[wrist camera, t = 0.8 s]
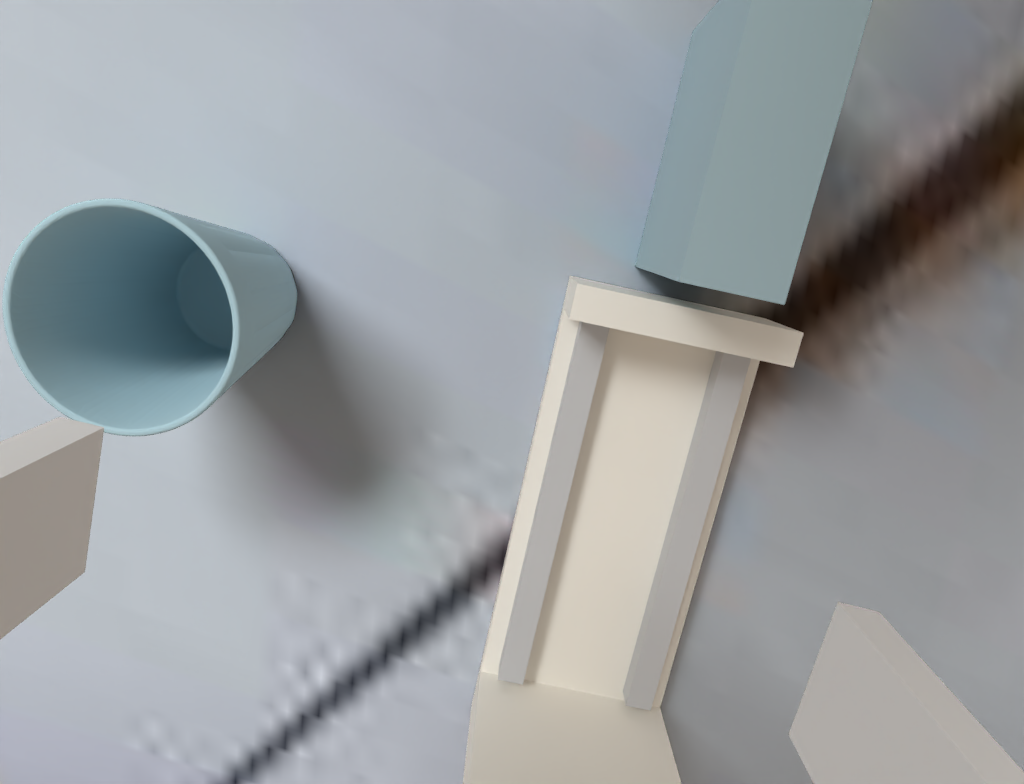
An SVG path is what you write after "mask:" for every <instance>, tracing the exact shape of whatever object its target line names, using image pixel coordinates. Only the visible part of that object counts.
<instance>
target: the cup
mask: <svg viewBox="0 0 1024 784" xmlns="http://www.w3.org/2000/svg"><path fill="white" fill-rule="evenodd" d="M296 304H297V289H296V285H295V282H294V278H293V275H292V272H291V270H290V268H289V266H288V264H287V263H286V262H285V261H284V259H283V258H282V257H281V256H280V255H279V253H278V252H277V251H276V250H275V249H274V248H273V247H272V246H270V245H269V244H267V243H266V242H263V241H261V240H259V239H257V238H255V237H253V236H251V235H248V234H246V233H242V232H239V231H236V230H232V229H229V228H226V227H222V226H219V225H215V224H212V223H208V222H205V221H201V220H198V219H195V218H191V217H188V216H184V215H181V214H177V213H174V212H171V211H168V210H164V209H161V208H158V207H154V206H151V205H147V204H144V203H140V202H136V201H131V200H124V199H96V200H89V201H84V202H80V203H76V204H73V205H70V206H67V207H65V208H63V209H61V210H59V211H57V212H55V213H53V214H52V215H50V216H49V217H47V218H46V219H44V220H43V221H42V222H40V223H39V224H38V225H37V226H36V227H35V228H34V229H33V230H32V231H31V232H30V233H29V234H28V235H27V236H26V238H25V239H24V240H23V242H22V243H21V244H20V246H19V247H18V249H17V251H16V253H15V255H14V256H13V259H12V261H11V264H10V266H9V269H8V272H7V275H6V279H5V284H4V291H3V319H4V325H5V331H6V335H7V338H8V342H9V345H10V348H11V351H12V353H13V355H14V357H15V359H16V361H17V363H18V365H19V367H20V369H21V370H22V372H23V373H24V375H25V377H26V378H27V380H28V381H29V382H30V384H31V385H32V386H33V387H34V389H35V390H36V391H37V392H38V393H39V394H40V395H41V396H42V397H43V398H44V399H45V400H46V401H47V402H48V403H49V404H50V405H52V406H53V407H54V408H56V409H57V410H58V411H60V412H61V413H62V414H64V415H65V416H67V417H69V418H70V419H72V420H76V421H80V422H84V423H88V424H92V425H97V426H101V427H104V432H105V433H109V434H114V435H122V436H147V435H154V434H159V433H163V432H167V431H170V430H173V429H176V428H178V427H180V426H182V425H184V424H186V423H188V422H190V421H192V420H193V419H195V418H196V417H198V416H199V415H200V414H202V413H203V412H204V411H205V410H207V409H208V408H209V407H210V406H211V405H212V404H213V403H214V402H215V401H216V400H217V399H218V398H219V397H220V396H221V395H223V394H224V393H225V392H226V391H227V390H228V389H229V388H230V387H231V386H232V385H233V384H234V383H235V382H236V381H237V380H238V379H239V378H240V377H241V376H242V375H244V374H245V373H246V372H247V371H248V370H249V369H250V368H251V367H252V366H253V365H254V364H255V363H256V362H257V361H259V360H260V359H261V358H262V357H263V356H264V355H265V354H266V353H267V352H268V351H269V350H270V349H271V348H272V347H273V346H274V345H275V344H276V343H277V342H278V341H279V340H280V339H281V338H282V337H283V335H284V334H285V332H286V330H287V329H288V328H289V327H290V325H291V324H292V322H293V319H294V316H295V310H296Z"/></svg>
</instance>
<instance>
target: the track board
mask: <svg viewBox="0 0 1024 784" xmlns="http://www.w3.org/2000/svg"><path fill="white" fill-rule="evenodd" d="M803 334H804V333H803V332H800V331H797V330H795V329H792V328H789V327H787V326H784V325H781V324H779V323H776V322H773V321H771V320H768V319H766V318H762V317H757V316H753V315H748V314H744V313H739V312H734V311H730V310H725V309H721V308H716V307H712V306H707V305H702V304H698V303H693V302H689V301H684V300H680V299H675V298H670V297H666V296H661V295H657V294H652V293H648V292H643V291H638V290H634V289H629V288H625V287H620V286H616V285H611V284H606V283H602V282H597V281H593V280H588V279H584V278H579V277H575V276H570V277H569V281H568V286H567V290H566V295H565V299H564V303H563V308H562V312H561V316H560V321H559V325H558V329H557V334H556V338H555V343H554V347H553V351H552V356H551V360H550V364H549V369H548V373H547V377H546V382H545V386H544V391H543V395H542V399H541V404H540V408H539V412H538V417H537V421H536V425H535V430H534V434H533V439H532V443H531V447H530V452H529V456H528V460H527V465H526V469H525V473H524V478H523V482H522V487H521V491H520V495H519V500H518V504H517V508H516V513H515V517H514V521H513V526H512V530H511V535H510V539H509V543H508V548H507V552H506V556H505V561H504V565H503V569H502V574H501V578H500V583H499V587H498V591H497V596H496V600H495V604H494V609H493V613H492V617H491V622H490V626H489V631H488V635H487V639H486V644H485V648H484V652H483V657H482V661H481V665H480V670H479V674H478V679H477V683H476V687H475V692H474V696H473V700H472V706H471V715H470V724H469V733H468V742H467V751H466V760H465V769H464V778H463V784H681V781H680V777H679V773H678V770H677V766H676V763H675V759H674V756H673V752H672V749H671V745H670V741H669V738H668V734H667V731H666V727H665V724H664V720H663V717H662V713H661V710H660V706H661V703H662V699H663V696H664V692H665V689H666V685H667V682H668V678H669V675H670V671H671V668H672V664H673V661H674V657H675V654H676V650H677V647H678V644H679V640H680V637H681V633H682V630H683V626H684V623H685V619H686V616H687V612H688V609H689V605H690V602H691V598H692V595H693V591H694V588H695V584H696V581H697V578H698V574H699V571H700V567H701V564H702V560H703V557H704V553H705V550H706V546H707V543H708V539H709V536H710V532H711V529H712V525H713V522H714V518H715V515H716V512H717V508H718V505H719V501H720V498H721V494H722V491H723V487H724V484H725V480H726V477H727V473H728V470H729V466H730V463H731V459H732V456H733V452H734V449H735V446H736V442H737V439H738V435H739V432H740V428H741V425H742V421H743V418H744V414H745V411H746V407H747V404H748V400H749V397H750V393H751V390H752V386H753V383H754V379H755V376H756V373H757V369H758V366H759V362H760V361H765V362H770V363H774V364H779V365H783V366H788V367H794V364H795V361H796V357H797V354H798V351H799V347H800V344H801V340H802V337H803Z"/></svg>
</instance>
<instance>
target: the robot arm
mask: <svg viewBox="0 0 1024 784" xmlns="http://www.w3.org/2000/svg"><path fill="white" fill-rule="evenodd" d="M103 432H104V427H101V426H97V425H92V424H88V423H84V422H80V421H76V420H71V419H67V418H63V417H58V418H55V419H53V420H51V421H48V422H46V423H44V424H41V425H39V426H37V427H34V428H32V429H29V430H27V431H25V432H22V433H20V434H18V435H15V436H13V437H10V438H8V439H6V440H3V441H1V442H0V639H1V638H3V637H4V636H5V635H6V634H8V633H9V632H10V631H11V630H13V629H14V628H15V627H16V626H18V625H19V624H20V623H21V622H23V621H24V620H25V619H26V618H28V617H29V616H30V615H31V614H33V613H34V612H35V611H36V610H38V609H39V608H40V607H41V606H43V605H44V604H45V603H46V602H48V601H49V600H50V599H51V598H53V597H54V596H55V595H56V594H58V593H59V592H60V591H61V590H63V589H64V588H65V587H66V586H68V585H69V584H70V583H71V582H73V581H74V580H75V579H77V578H78V577H79V576H80V575H82V574H83V573H84V572H85V567H86V559H87V552H88V544H89V537H90V529H91V522H92V514H93V507H94V499H95V492H96V485H97V477H98V470H99V462H100V455H101V447H102V440H103ZM789 736H790V738H791V740H792V742H793V744H794V746H795V748H796V750H797V752H798V754H799V756H800V758H801V760H802V762H803V764H804V766H805V768H806V770H807V772H808V774H809V775H810V777H811V779H812V781H813V783H814V784H1024V772H1023V771H1022V769H1021V768H1020V767H1019V766H1018V765H1017V764H1016V763H1015V762H1014V761H1013V759H1012V758H1011V757H1010V756H1009V755H1008V754H1007V753H1006V752H1005V751H1004V750H1003V748H1002V747H1001V746H1000V745H999V744H998V743H997V742H996V741H995V740H994V738H993V737H992V736H991V735H990V734H989V733H988V732H987V731H986V730H985V728H984V727H983V726H982V725H981V724H980V723H979V722H978V721H977V720H976V719H975V717H974V716H973V715H972V714H971V713H970V712H969V711H968V710H967V709H966V707H965V706H964V705H963V704H962V703H961V702H960V701H959V700H958V699H957V698H956V696H955V695H954V694H953V693H952V692H951V691H950V690H949V689H948V688H947V686H946V685H945V684H944V683H943V682H942V681H941V680H940V679H939V678H938V676H937V675H936V674H935V673H934V672H933V671H932V670H931V669H930V668H929V667H928V665H927V664H926V663H925V662H924V661H923V660H922V659H921V658H920V657H919V655H918V654H917V653H916V652H915V651H914V650H913V649H912V648H911V647H910V645H909V644H908V643H907V642H906V641H905V640H904V639H903V638H902V637H901V636H900V634H899V633H898V632H897V631H896V630H895V629H894V628H893V627H892V626H891V624H890V623H889V622H888V621H887V620H886V619H885V618H884V617H883V616H882V615H881V613H880V612H878V611H874V610H870V609H865V608H861V607H857V606H853V605H849V604H844V603H840V602H838V603H837V605H836V608H835V611H834V613H833V616H832V619H831V621H830V624H829V627H828V629H827V632H826V635H825V637H824V640H823V643H822V646H821V648H820V651H819V654H818V656H817V659H816V662H815V664H814V667H813V670H812V672H811V675H810V678H809V680H808V683H807V686H806V689H805V691H804V694H803V697H802V699H801V702H800V705H799V707H798V710H797V713H796V715H795V718H794V721H793V723H792V726H791V729H790V731H789Z"/></svg>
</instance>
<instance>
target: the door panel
mask: <svg viewBox="0 0 1024 784" xmlns="http://www.w3.org/2000/svg"><path fill="white" fill-rule="evenodd" d="M872 2H873V0H719V1H718V2H717V3H716V5H715V6H714V7H713V8H712V9H711V10H710V12H709V13H708V14H707V15H706V16H705V17H704V19H703V20H702V21H701V22H700V23H699V24H698V26H697V27H696V28H695V29H694V30H693V33H692V37H691V41H690V45H689V49H688V53H687V57H686V61H685V65H684V69H683V73H682V77H681V81H680V85H679V90H678V94H677V98H676V102H675V106H674V110H673V114H672V118H671V122H670V126H669V130H668V134H667V138H666V142H665V146H664V150H663V154H662V159H661V163H660V167H659V171H658V175H657V179H656V183H655V187H654V191H653V195H652V199H651V203H650V207H649V211H648V215H647V219H646V223H645V228H644V232H643V236H642V240H641V244H640V248H639V252H638V256H637V260H636V264H635V267H638V268H641V269H644V270H646V271H649V272H652V273H655V274H658V275H661V276H664V277H667V278H669V279H672V280H675V281H678V282H682V283H687V284H691V285H696V286H700V287H705V288H709V289H714V290H718V291H723V292H728V293H732V294H737V295H741V296H746V297H750V298H755V299H759V300H764V301H769V302H773V303H778V304H782V305H785V302H786V298H787V295H788V292H789V288H790V285H791V281H792V278H793V274H794V271H795V267H796V264H797V261H798V257H799V254H800V250H801V247H802V243H803V240H804V236H805V233H806V229H807V226H808V223H809V219H810V216H811V212H812V209H813V205H814V202H815V198H816V195H817V192H818V188H819V185H820V181H821V178H822V174H823V171H824V167H825V164H826V161H827V157H828V154H829V150H830V147H831V143H832V140H833V136H834V133H835V129H836V126H837V123H838V119H839V116H840V112H841V109H842V105H843V102H844V98H845V95H846V92H847V88H848V85H849V81H850V78H851V74H852V71H853V67H854V64H855V60H856V57H857V54H858V50H859V47H860V43H861V40H862V36H863V33H864V29H865V26H866V23H867V19H868V16H869V12H870V9H871V5H872Z"/></svg>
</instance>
